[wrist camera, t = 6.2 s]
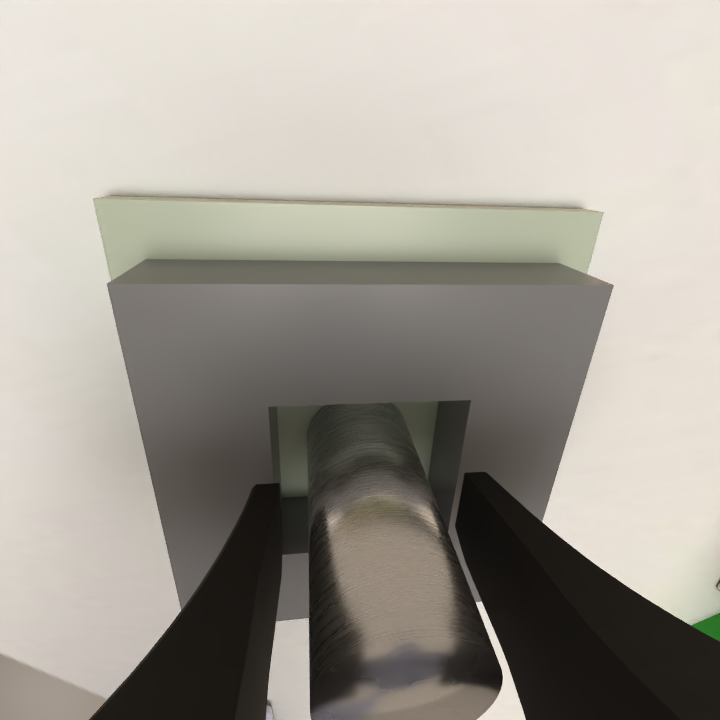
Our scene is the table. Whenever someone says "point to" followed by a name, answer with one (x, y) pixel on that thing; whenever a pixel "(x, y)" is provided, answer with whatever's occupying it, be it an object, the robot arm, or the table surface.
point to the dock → (344, 349)
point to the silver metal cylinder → (386, 581)
